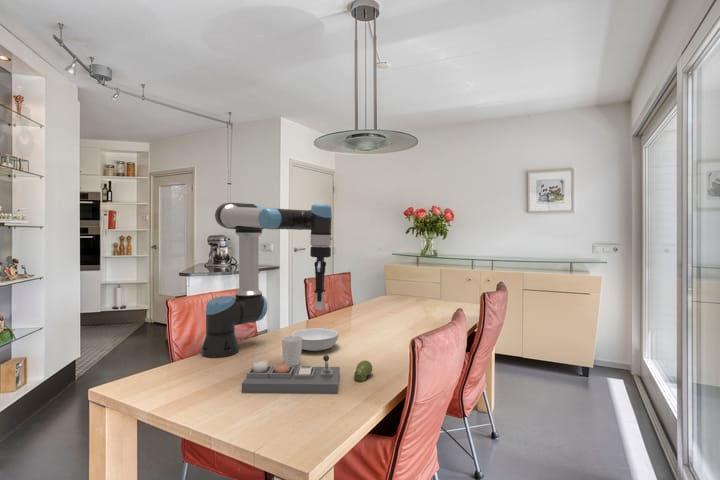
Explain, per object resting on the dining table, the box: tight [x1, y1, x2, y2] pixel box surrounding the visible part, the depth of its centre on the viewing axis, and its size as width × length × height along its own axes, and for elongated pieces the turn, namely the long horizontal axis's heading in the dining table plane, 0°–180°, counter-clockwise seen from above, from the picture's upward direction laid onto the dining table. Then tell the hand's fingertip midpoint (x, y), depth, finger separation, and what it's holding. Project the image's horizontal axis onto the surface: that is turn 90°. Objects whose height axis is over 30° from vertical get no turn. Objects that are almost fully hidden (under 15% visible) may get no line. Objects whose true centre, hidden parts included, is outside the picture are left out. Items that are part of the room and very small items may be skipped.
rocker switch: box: [298, 365, 313, 375], centre depth 133 cm, size 5×4×1 cm
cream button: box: [252, 359, 269, 373], centre depth 132 cm, size 5×5×3 cm
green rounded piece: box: [353, 360, 373, 383], centre depth 139 cm, size 6×5×10 cm
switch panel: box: [241, 365, 341, 394], centre depth 133 cm, size 16×31×5 cm, turn 90°
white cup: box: [281, 335, 303, 367], centre depth 153 cm, size 8×8×10 cm
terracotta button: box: [274, 363, 290, 373], centre depth 133 cm, size 5×5×3 cm
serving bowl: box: [291, 327, 339, 352], centre depth 173 cm, size 21×21×7 cm
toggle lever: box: [322, 354, 332, 372], centre depth 130 cm, size 2×2×8 cm
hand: (319, 309), depth 143 cm, fingers closed
